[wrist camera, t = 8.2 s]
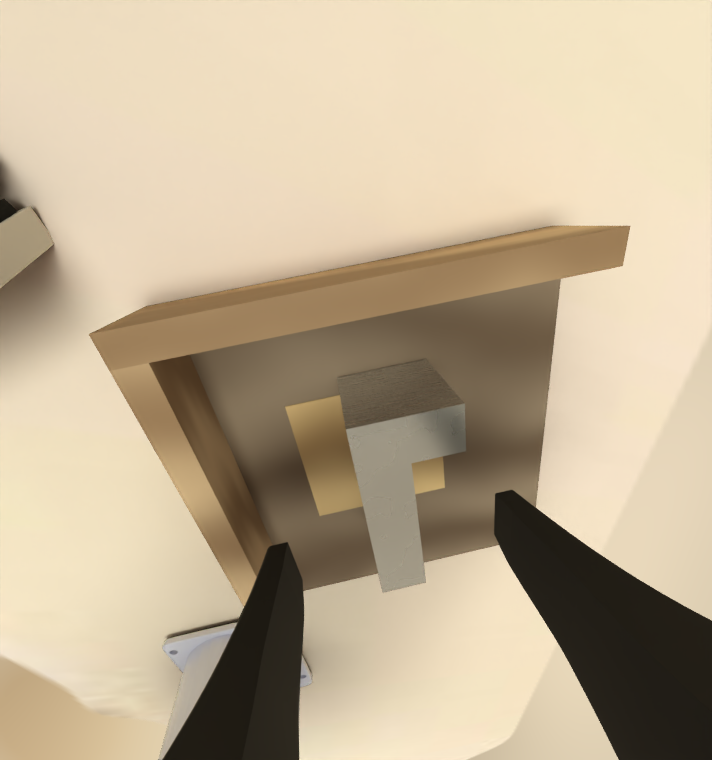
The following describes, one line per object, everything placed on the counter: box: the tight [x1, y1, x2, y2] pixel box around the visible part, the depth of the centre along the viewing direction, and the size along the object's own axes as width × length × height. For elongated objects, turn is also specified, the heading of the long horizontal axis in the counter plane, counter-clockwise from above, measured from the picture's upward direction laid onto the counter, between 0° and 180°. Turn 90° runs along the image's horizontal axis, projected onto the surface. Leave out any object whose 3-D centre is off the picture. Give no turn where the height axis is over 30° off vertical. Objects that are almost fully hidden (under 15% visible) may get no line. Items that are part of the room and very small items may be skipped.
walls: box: [89, 226, 630, 606], centre depth 15 cm, size 18×17×4 cm
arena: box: [190, 279, 561, 591], centre depth 17 cm, size 17×16×1 cm
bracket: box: [337, 359, 466, 592], centre depth 14 cm, size 9×4×4 cm, turn 10°
